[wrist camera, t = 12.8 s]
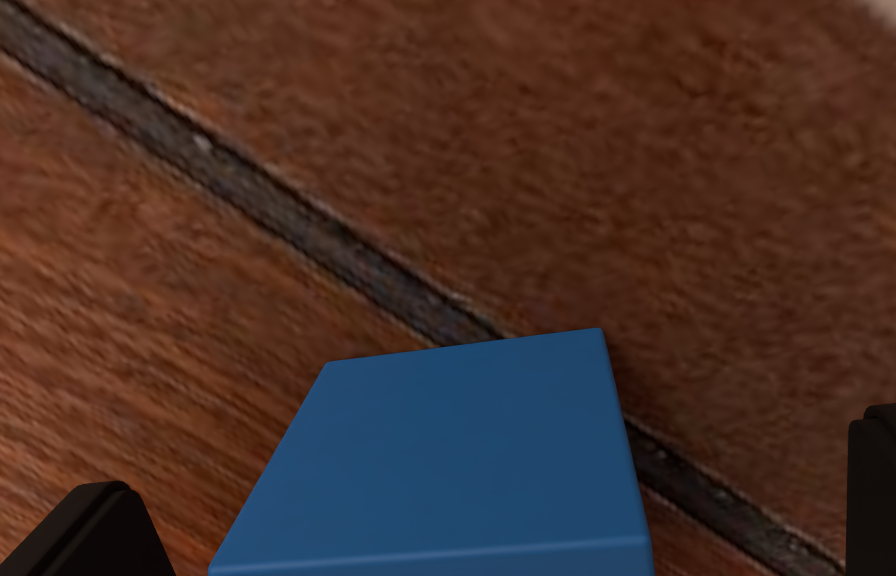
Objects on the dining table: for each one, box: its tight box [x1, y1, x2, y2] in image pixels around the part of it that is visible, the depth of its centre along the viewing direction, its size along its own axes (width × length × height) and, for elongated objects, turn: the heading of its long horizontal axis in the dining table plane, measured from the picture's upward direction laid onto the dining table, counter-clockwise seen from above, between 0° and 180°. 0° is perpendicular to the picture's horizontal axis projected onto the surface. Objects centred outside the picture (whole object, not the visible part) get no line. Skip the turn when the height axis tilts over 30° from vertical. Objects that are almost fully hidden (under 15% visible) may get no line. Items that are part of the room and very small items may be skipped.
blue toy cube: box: [208, 328, 655, 576], centre depth 8 cm, size 4×4×4 cm
